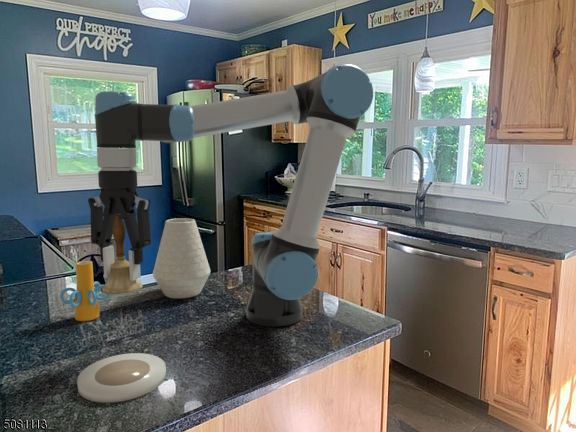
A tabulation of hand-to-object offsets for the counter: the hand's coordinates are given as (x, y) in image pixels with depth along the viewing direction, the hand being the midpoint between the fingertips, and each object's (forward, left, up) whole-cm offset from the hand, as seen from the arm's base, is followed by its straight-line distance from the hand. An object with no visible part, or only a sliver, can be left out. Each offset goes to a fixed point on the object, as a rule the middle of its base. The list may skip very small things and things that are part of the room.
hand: (122, 277), depth 94 cm
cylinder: (+22, -16, -17) cm, 32 cm away
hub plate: (-6, +10, -17) cm, 21 cm away
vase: (+7, -41, -17) cm, 45 cm away
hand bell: (0, 0, -3) cm, 3 cm away
